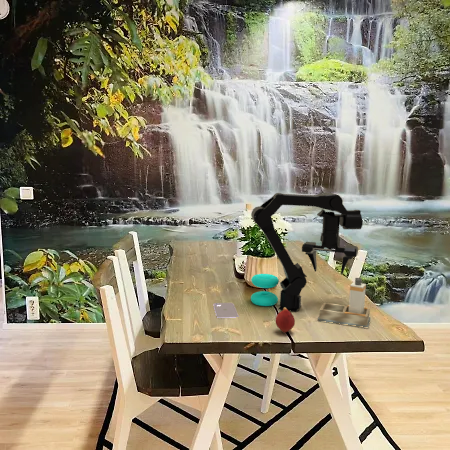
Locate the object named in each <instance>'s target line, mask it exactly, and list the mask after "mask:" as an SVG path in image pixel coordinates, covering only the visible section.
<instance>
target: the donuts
mask: <svg viewBox="0 0 450 450" xmlns="http://www.w3.org/2000/svg"><path fill="white" fill-rule="evenodd" d="M251 283H252V285H253V286H255V287H257V288H261V289H272V288H275V287H277V286H278V285H279V284H280V281H279V278H278V276H276V275H273V274H272V273H271V274H270V273H258V274H254V275H253V276H252V277H251ZM250 301H251V302H252V304H253V305H256V306H259V307H260V306H261V307H272V306H274V305H276V304H277V303H278V301H279V297H278V296H277V295H276V294H275V293H273V292H271V291H266V290H261V291H256V292H254V293H252V294H251V296H250Z"/></svg>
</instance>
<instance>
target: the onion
mask: <svg viewBox="0 0 450 450" xmlns="http://www.w3.org/2000/svg"><path fill="white" fill-rule="evenodd" d="M295 321H296V320H295V317H294V315H293V314H292V311H288V310H287V309H286V308H283V310H280V312H279V313H277V315H276V317H275V325H276V326H277V328H278V329H279V330H280V331H281V332H282V333H284V334H285V333H287V332H290V331H291V330H292V329H293V328H294V327H295V323H296V322H295Z"/></svg>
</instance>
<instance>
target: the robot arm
mask: <svg viewBox="0 0 450 450" xmlns="http://www.w3.org/2000/svg"><path fill="white" fill-rule="evenodd" d="M282 206H298V207H315V208H319V209H321V210H320V211H319V212H318V213H317V214H316V215H317V216H318V217H320V218H322V231H321V234H320V239H319V241H320V242H321V245H320V244H318V245H317V243H316V242H315V241H306V242H304V243H303V244H302V245H301V252H302V253H304V254H305V255H307V256H308V258H309V260H310V263H311V265H312V267H313V270H314V272H317V270H318V269H317V265H318V264H317V251H319V252H330V253H342V254H344V255H343V256H342V257H343V258H342V261H341V262H342V263H341V269H340V274H341V275H343V274H344V271H345V269H346V266H347V264H348V262H349V260H353V258H356V257H357V256H358V254H359V247H358V246H357V245H350V244H347V245H345V246H344V247H340V246H341V245H340V244H341V236H340V227H342V230H361V229H362V228H363V223H364V221H363V217H362V213H361V211H362V210H360V209H353V210H352V209H350V210H347V208H346V207H345V206H344V202H343V198H342V197H341V195H339V194H337V193H333V192H325V193H324V192H323V193H319V194H297V193H281V192H276V193H274V194H273V195H272V196H271V197H270V198H269V199H267V200H266V201H265V202H263V203H262V204H260V206H255V207H254V208H253V209H252V210H251V214H250V216H251V219H252V220H253V222H255V224H256V225H257V226H258V228H259V229H260V230H261V231H262V233H263V234H264V235H265V237H266V239H267V241H268V243H269V244H270V245H271V248H272V249H273V251H274V253H275V255H276V257H277V259H279V260H278V261H280V263H281V265H282V268H283V272H284V275H285V277H284V279H282V280H281V281H279V284H280V287H281V290H280V296H279V298H280V299H279V302H280V303H279V307H278V310H279V309H280V311H283V308H286V309H287V310H288V311H290V312H291V313H292V312H294V313H297V312H298V310H299V309H301V307H302V296H301V292H302V290H303V289H304V288H305V287H306V284H307V274H306V273H304V272H305V271H304V270H303V267H302V266H301V265H300V263H298V262H296V263H294V262H293V260H292V259H291V256H290V255H289V253H288V251H287V249H286V247H285V246H284V244H283V242H282V240H281V238H280V237H279V234H278V233H277V231H276V229H275V226H274V225H275V224H274V222H273V218H272V216H273V215H275V214H276V212H278V210H279V209H280V208H281V207H282ZM326 210H327V211H326ZM335 212H337V213H338V214H337V213H336V214H335Z"/></svg>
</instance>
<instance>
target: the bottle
mask: <svg viewBox="0 0 450 450" xmlns="http://www.w3.org/2000/svg"><path fill="white" fill-rule="evenodd" d="M354 280H355V281H353V282H352V283H351V284H349V299H348V300H349V301H348V305H349V312H350V313H357V314H364V307H365V301H366V300H365V298H366V289H367V284H366V283H362V280H363V278H361V277H355V279H354Z"/></svg>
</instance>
